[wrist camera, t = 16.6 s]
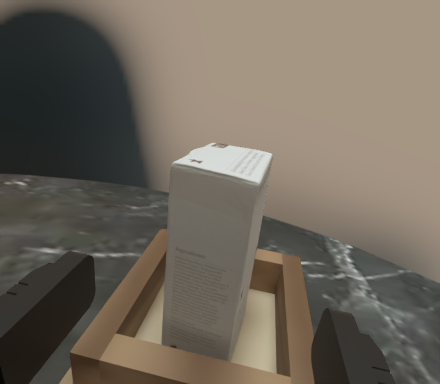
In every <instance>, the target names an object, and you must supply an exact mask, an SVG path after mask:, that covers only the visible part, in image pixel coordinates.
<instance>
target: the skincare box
mask: <svg viewBox="0 0 440 384" xmlns="http://www.w3.org/2000/svg"><path fill="white" fill-rule="evenodd" d="M272 159H273V154H271V153H268V152H264V151H258V150H254V149H247V148H241V147H235V146H230V145H224V144H218V143H211V144H209V145H207V146H205V147H202V148H198V149H195V150H193V151H191V152H190V153H189V154H188V155H187V156H185V157H183V158H181V159H179V160H177V161H175V162H173V163H172V165H171V172H170V188H169V207H168V230H167V249H166V268H165V284H164V302H163V320H162V340H161V345H164V346H168V347H172V348H176V349H180V350H184V351H188V352H192V353H196V354H200V355H204V356H208V357H212V358H216V359H220V360H224V361H228V362H230V361H231V358H232V356H233V353H234V350H235V346H236V343H237V340H238V336H239V333H240V329H241V325H242V321H243V317H244V313H245V308H246V303H247V297H248V292H249V287H250V281H251V276H252V271H253V265H254V260H255V254H256V250H257V244H258V238H259V233H260V227H261V222H262V216H263V211H264V205H265V199H266V193H267V187H268V180H269V174H270V169H271V163H272Z"/></svg>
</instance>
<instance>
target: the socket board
mask: <svg viewBox="0 0 440 384" xmlns="http://www.w3.org/2000/svg"><path fill="white" fill-rule="evenodd" d="M166 249H167V230H164V229H161V230H160V231H159V232H158V234H157V235H156V236H155V238H154V239H153V241H152V242H151V243H150V245H149V246H148V247H147V249H146V250H145V251H144V253H143V254H142V255H141V257H140V258H139V259H138V261H137V262H136V263H135V265H134V266H133V267H132V269H131V270H130V271H129V273H128V274H127V276H126V277H125V278H124V280H123V281H122V282H121V284H120V285H119V286H118V288H117V289H116V290H115V292H114V293H113V294H112V296H111V297H110V298H109V300H108V301H107V302H106V304H105V305H104V307H103V308H102V309H101V311H100V312H99V313H98V315H97V316H96V317H95V319H94V320H93V321H92V323H91V324H90V325H89V327H88V328H87V329H86V331H85V332H84V333H83V335H82V336H81V338H80V339H79V340H78V342H77V343H76V344H75V346H74V347H73V348H72V350H71V351H70V361H71V367H70V369H69V370H68V372H67V373H66V375H65V376H64V377H63V379H62V380H61V382H60V383H59V384H315V383H314V376H313V370H312V363H311V347H312V342H313V339H314V335H313V329H312V323H311V318H310V312H309V306H308V301H307V295H306V289H305V283H304V278H303V272H302V266H301V260H300V257H296V256H291V255H286V254H281V253H276V252H271V251H266V250H261V249H257V250H256V254H255V260H254V265H253V271H252V276H251V281H250V287H249V292H248V297H247V303H246V308H245V313H244V317H243V321H242V325H241V329H240V333H239V336H238V340H237V343H236V346H235V350H234V353H233V356H232V358H231V361H230V362H228V361H224V360H220V359H216V358H212V357H208V356H204V355H200V354H196V353H192V352H188V351H184V350H180V349H176V348H172V347H168V346H164V345H161V340H162V320H163V302H164V284H165V268H166Z"/></svg>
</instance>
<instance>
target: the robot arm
mask: <svg viewBox="0 0 440 384" xmlns="http://www.w3.org/2000/svg"><path fill="white" fill-rule="evenodd" d="M94 296H95V272H94V259H93V257H92V256H90V255H86V254H81V253H77V252H72V251H70V252H67V253H66V254H64V255H63V256H62V257H61V258H60V259H58V260H57V261H56V262H55V263H48V264H46V265H44V266H42V267H40V268H37V269H35V270H33V271H32V272H30V273H29V274H28V275H27V276H25V277H24V278H23V279H22V280H20V281H19V283H18V284H15V285H14V286H13V287H12V288H10V289H9V290H8V291H7V293H6V294H3V295H2V296H0V384H29V382H30V381H31V380H32V379H33V377H34V376H35V375H36V374H37V372H38V371H39V370H40V369H41V367H42V366H43V365H44V364H45V362H46V361H47V360H48V359H49V357H50V356H51V355H52V354H53V352H54V351H55V350H56V349H57V347H58V346H59V345H60V344H61V342H62V341H63V340H64V338H65V337H66V336H67V335H68V333H69V332H70V331H71V330H72V328H73V327H74V326H75V325H76V323H77V322H78V321H79V320H80V318H81V317H82V316H83V315H84V313H85V312H86V311H87V310H88V308H89V307H90V305H91V303H92V301H93V299H94ZM311 363H312V370H313V376H314V383H315V384H395V381H394V379H393V377H392V374H390V370H389V367H388V365H387V363H386V360H385V358H384V355H383V353H382V351H381V350H380V349H379V348H378V346H377V345H376V344H375V343H374V341H373V340H372V339H371V338H370V336H369V335H365V334H361V333H359V330H358V327H357V324H356V322H355V319H354V317H353V315H352V314H351V313H347V312H342V311H338V310H333V309H329V308H326V309H325V310H324V312H323V314H322V317H321V320H320V323H319V325H318V328H317V331H316V334H315V336H314V339H313V342H312V347H311Z"/></svg>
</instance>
